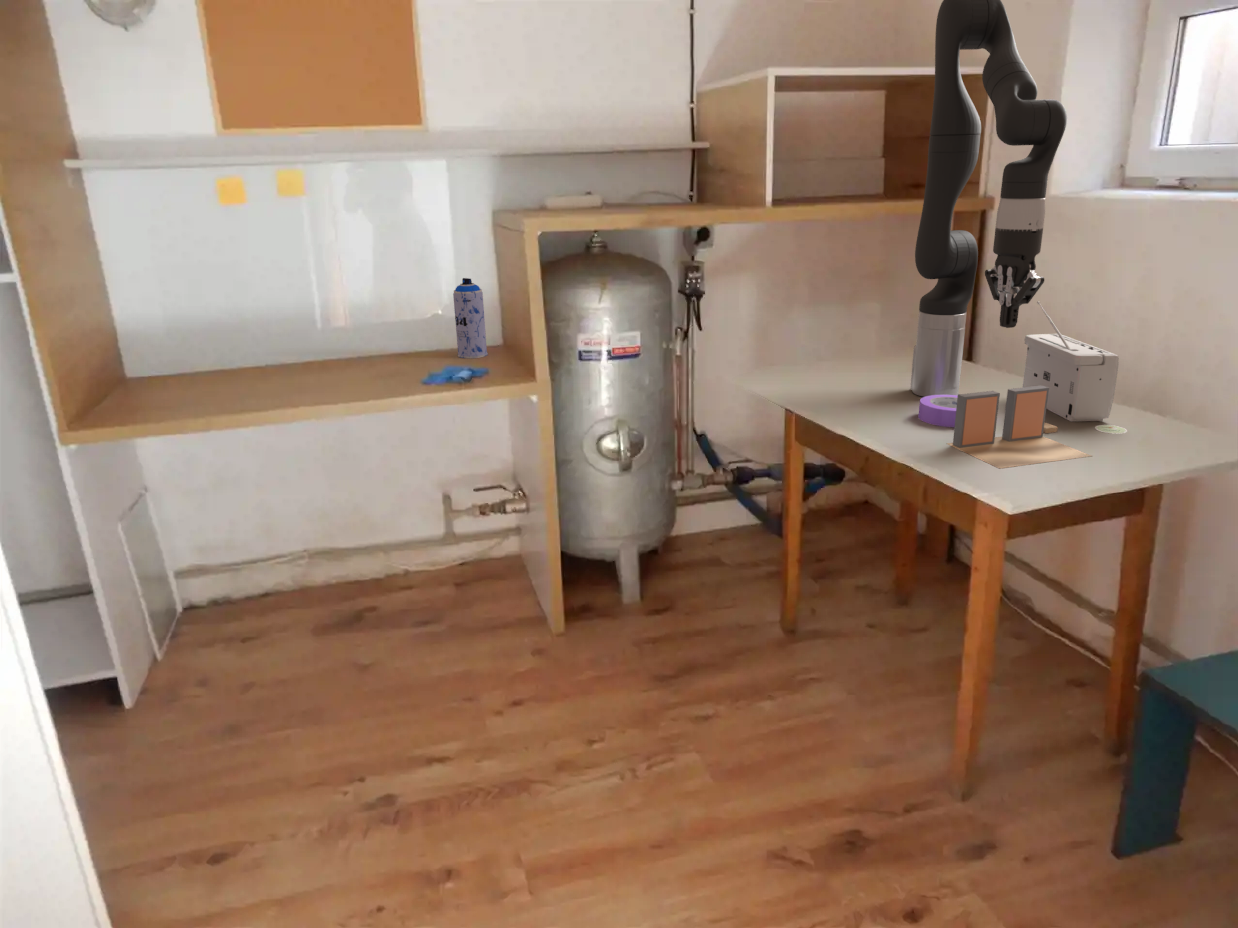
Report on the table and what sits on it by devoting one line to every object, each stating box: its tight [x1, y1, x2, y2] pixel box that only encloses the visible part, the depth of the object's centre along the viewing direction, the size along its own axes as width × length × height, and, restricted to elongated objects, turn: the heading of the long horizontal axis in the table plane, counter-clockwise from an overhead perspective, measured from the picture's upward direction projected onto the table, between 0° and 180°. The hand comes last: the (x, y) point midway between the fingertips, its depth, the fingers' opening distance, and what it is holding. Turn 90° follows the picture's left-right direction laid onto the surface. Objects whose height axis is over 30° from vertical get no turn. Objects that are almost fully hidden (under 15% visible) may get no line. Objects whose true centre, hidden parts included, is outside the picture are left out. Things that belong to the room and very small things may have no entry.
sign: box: [1094, 424, 1128, 435], centre depth 160 cm, size 5×1×15 cm
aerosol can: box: [452, 277, 489, 359], centre depth 236 cm, size 8×8×20 cm
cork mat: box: [946, 436, 1092, 470], centre depth 155 cm, size 14×18×1 cm
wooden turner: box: [1043, 422, 1059, 434], centre depth 165 cm, size 14×4×2 cm, turn 16°
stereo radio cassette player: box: [1022, 300, 1120, 422], centre depth 175 cm, size 21×8×20 cm, turn 4°
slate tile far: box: [1001, 385, 1049, 442], centre depth 159 cm, size 2×7×9 cm, turn 106°
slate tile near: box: [952, 390, 1001, 448], centre depth 156 cm, size 2×7×9 cm, turn 106°
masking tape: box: [917, 395, 958, 428], centre depth 173 cm, size 12×12×4 cm
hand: (1007, 326), depth 161 cm, fingers closed
